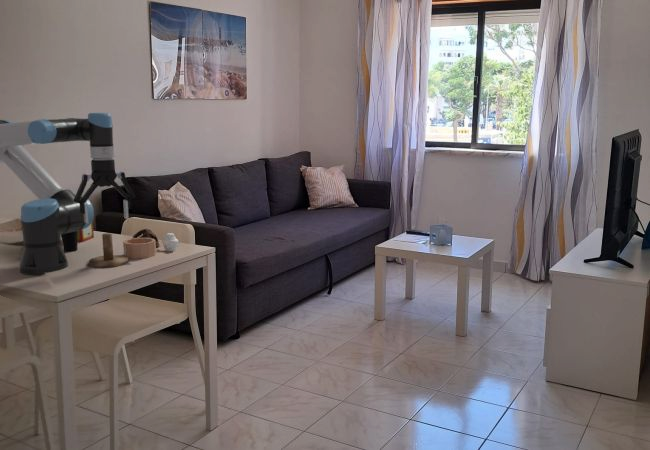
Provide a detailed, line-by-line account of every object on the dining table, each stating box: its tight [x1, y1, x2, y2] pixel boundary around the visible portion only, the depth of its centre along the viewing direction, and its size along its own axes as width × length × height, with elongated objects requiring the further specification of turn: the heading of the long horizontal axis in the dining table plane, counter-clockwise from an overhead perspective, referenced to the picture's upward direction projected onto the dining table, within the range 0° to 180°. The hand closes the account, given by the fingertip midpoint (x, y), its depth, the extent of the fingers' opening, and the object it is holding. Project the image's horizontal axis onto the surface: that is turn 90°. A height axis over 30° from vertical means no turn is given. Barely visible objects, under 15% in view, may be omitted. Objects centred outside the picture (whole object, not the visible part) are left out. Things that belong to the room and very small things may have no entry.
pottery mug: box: [131, 228, 161, 249], centre depth 259 cm, size 12×10×8 cm
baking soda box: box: [77, 199, 95, 243], centre depth 271 cm, size 10×6×16 cm
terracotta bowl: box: [122, 237, 157, 260], centre depth 242 cm, size 11×11×6 cm
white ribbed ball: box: [161, 232, 179, 252], centre depth 252 cm, size 6×6×7 cm
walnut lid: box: [88, 232, 129, 269], centre depth 230 cm, size 13×13×10 cm
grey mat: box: [87, 260, 131, 270], centre depth 231 cm, size 12×12×1 cm
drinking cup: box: [60, 231, 78, 253], centre depth 251 cm, size 8×8×20 cm
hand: (106, 220), depth 228 cm, fingers open, 13 cm apart
